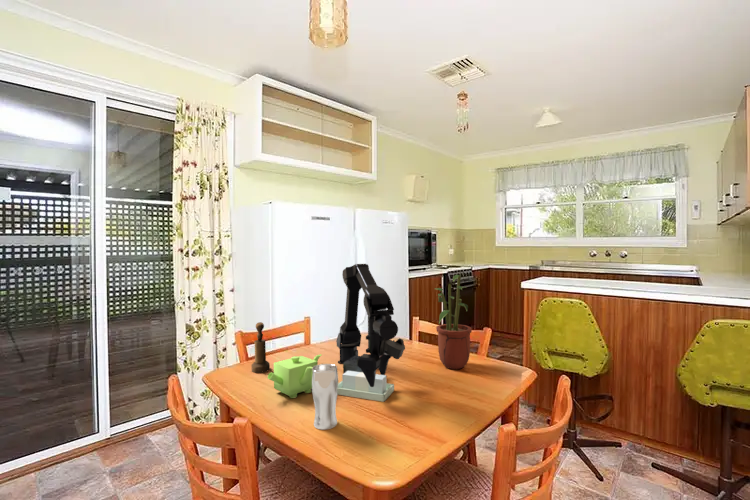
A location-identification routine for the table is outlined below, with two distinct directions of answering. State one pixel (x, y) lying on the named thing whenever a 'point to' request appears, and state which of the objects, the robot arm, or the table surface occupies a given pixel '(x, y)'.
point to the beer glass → (325, 395)
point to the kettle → (293, 375)
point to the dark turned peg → (260, 352)
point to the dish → (366, 393)
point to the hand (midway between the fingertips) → (377, 381)
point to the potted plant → (453, 333)
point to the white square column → (364, 382)
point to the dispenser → (351, 365)
